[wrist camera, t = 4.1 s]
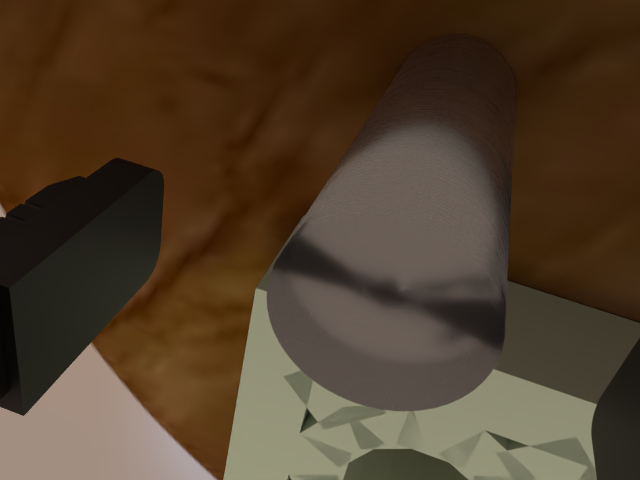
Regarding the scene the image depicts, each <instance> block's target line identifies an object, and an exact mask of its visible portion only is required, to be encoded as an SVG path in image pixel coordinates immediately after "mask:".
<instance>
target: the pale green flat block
mask: <svg viewBox="0 0 640 480" xmlns="http://www.w3.org/2000/svg"><path fill="white" fill-rule="evenodd" d="M304 217H305V215H303V217H302V218H301V220H300V221H299V223H298V224H297V226H296V227H295V229H294V230H293V232H292V233H291V235H290V237H289V238H288V240H287V241H286V243H285V244H284V246H283V247H282V249H281V250H280V252H279V253H278V255H277V256H276V258H275V260H274V261H273V263H272V264H271V266H270V267H269V269H268V270H267V272H266V273H265V275H264V276H263V278H262V279H261V281H260V283H259V284H258V286H257V287H256V291H255V297H254V302H253V308H252V314H251V320H250V326H249V332H248V338H247V344H246V350H245V356H244V362H243V368H242V374H241V380H240V386H239V391H238V397H237V403H236V409H235V415H234V421H233V427H232V433H231V439H230V445H229V451H228V457H227V463H226V469H225V474H224V480H597V476H596V469H595V461H594V453H593V446H592V438H591V427H592V419H593V415H594V411H595V408H596V406H597V403H598V401H599V399H600V397H601V395H602V394H603V392H604V391H605V389H606V388H607V386H608V385H609V383H610V382H611V380H612V379H613V377H614V376H615V374H616V373H617V371H618V370H619V368H620V367H621V365H622V364H623V362H624V360H625V359H626V357H627V356H628V354H629V353H630V351H631V350H632V348H633V347H634V345H635V344H636V342H637V341H638V339H639V338H640V323H638V322H635V321H632V320H629V319H626V318H623V317H620V316H616V315H613V314H610V313H607V312H604V311H601V310H598V309H595V308H591V307H588V306H585V305H582V304H579V303H576V302H573V301H570V300H567V299H563V298H560V297H557V296H554V295H551V294H548V293H545V292H542V291H539V290H535V289H532V288H529V287H526V286H523V285H520V284H517V283H514V282H510V281H507V299H506V321H505V339H504V344H503V349H502V352H501V355H500V357H499V360H498V362H497V364H496V366H495V367H494V369H493V370H492V372H491V374H490V375H489V376H488V377H487V378H486V379H485V381H484V382H483V383H482V384H481V385H479V386H478V387H477V388H476V389H475V390H474V391H472V392H471V393H469V394H467V395H466V396H464V397H463V398H461V399H459V400H456V401H454V402H452V403H450V404H447V405H444V406H440V407H437V408H432V409H427V410H420V411H390V410H381V409H376V408H372V407H367V406H364V405H361V404H357V403H354V402H352V401H349V400H347V399H344V398H342V397H340V396H338V395H336V394H334V393H332V392H330V391H328V390H327V389H325V388H323V387H322V386H320V385H319V384H317V383H316V382H315V381H313V380H312V379H311V378H309V377H308V376H307V375H306V374H305V373H304V372H302V371H301V370H300V369H299V368H298V367H297V366H296V365H295V364H294V362H293V361H292V360H291V359H290V358H289V356H288V355H287V354H286V352H285V351H284V349H283V348H282V346H281V345H280V343H279V341H278V339H277V337H276V335H275V333H274V331H273V328H272V325H271V323H270V319H269V315H268V310H267V286H268V281H269V277H270V273H271V271H272V268H273V266H274V264H275V262H276V260H277V259H278V257H279V255H280V254H281V252H282V251H283V249H284V248H285V246H286V245H287V243H288V242H289V240H290V238H291V237H292V235H293V234H294V232H295V231H296V229H297V228H298V226H299V224H300V223H301V221H302V220H303V218H304Z"/></svg>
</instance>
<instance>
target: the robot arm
mask: <svg viewBox="0 0 640 480" xmlns="http://www.w3.org/2000/svg"><path fill="white" fill-rule="evenodd" d="M163 194H164V179H163V175H162V173H161V172H160V171H158V170H155V169H152V168H148V167H145V166H142V165H139V164H136V163H133V162H130V161H127V160H123V159H120V158H115V159H113V160H111V161H110V162H108V163H107V164H105V165H104V166H102V167H101V168H100V169H98V170H97V171H95V172H94V173H93V174H91V175H90V176H88V177H87V178H84V177H81V176H78V177H74V178H71V179H68V180H65V181H61V182H58V183H55V184H52V185H48V186H47V187H45V188H44V189H42V190H41V191H39V192H38V193H36V194H35V195H33V196H32V197H30V198H29V199H27V200H26V202H25V204H24V205H23V204H20V205H18V206H17V207H15V208H14V209H12V210H11V211H9V212H8V213H6V217H5V218H4V217H0V407H2V408H5V409H7V410H10V411H12V412H15V413H18V414H20V415H23V416H24V415H25V414H26V413H27V412H28V411H29V410H30V409H31V408H32V406H33V405H34V404H35V403H36V402H37V401H38V400H39V399H40V398H41V397H42V395H43V394H44V393H45V392H46V391H47V390H48V389H49V388H50V387H51V386H52V384H53V383H54V382H55V381H56V380H57V379H58V378H59V377H60V375H61V374H62V373H63V372H64V371H65V370H66V369H67V368H68V367H69V366H70V365H71V364H72V362H73V361H74V360H75V359H76V358H77V357H78V356H79V355H80V354H81V353H82V351H83V350H84V349H85V348H86V347H87V346H88V345H89V344H90V343H91V342H92V341H93V339H94V338H95V337H96V336H97V335H98V334H99V333H100V332H101V331H102V330H103V328H104V327H105V326H106V325H107V324H108V323H109V322H110V321H111V320H112V319H113V317H114V316H115V315H116V314H117V313H118V312H119V311H120V310H121V309H122V308H123V306H124V305H125V304H126V303H127V302H128V301H129V300H130V299H131V298H132V297H133V295H134V294H135V293H136V292H137V291H138V290H139V289H140V288H141V287H142V286H143V284H144V283H145V282H146V281H147V280H148V278H149V277H150V275H151V274H152V272H153V270H154V268H155V265H156V263H157V260H158V256H159V252H160V244H161V227H162V210H163ZM591 438H592V446H593V453H594V461H595V469H596V476H597V480H640V338H639V339H638V341H637V342H636V344H635V345H634V347H633V348H632V350H631V351H630V353H629V354H628V356H627V357H626V359H625V360H624V362H623V364H622V365H621V367H620V368H619V370H618V371H617V373H616V374H615V376H614V377H613V379H612V380H611V382H610V383H609V385H608V386H607V388H606V389H605V391H604V392H603V394H602V395H601V397H600V399H599V401H598V403H597V406H596V408H595V411H594V415H593V419H592V427H591Z"/></svg>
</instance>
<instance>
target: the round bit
mask: <svg viewBox="0 0 640 480" xmlns="http://www.w3.org/2000/svg"><path fill="white" fill-rule="evenodd" d="M515 102H516V85H515V79H514V75H513V72H512V70H511V67H510V65H509V63H508V62H507V60H506V59H505V57H504V56H503V55H502V54H501V53H500V52H499V51H498V50H497V49H496V48H495V47H494V46H492V45H491V44H489V43H488V42H486V41H484V40H482V39H480V38H477V37H474V36H470V35H464V34H450V35H444V36H439V37H436V38H434V39H431V40H429V41H427V42H425V43H424V44H422V45H421V46H419V47H418V48H417V49H415V50H414V51H413V52H412V53H411V54H410V55H409V57H408V58H407V59H406V61H405V62H404V64H403V65H402V67H401V68H400V70H399V71H398V73H397V74H396V76H395V77H394V79H393V80H392V82H391V84H390V85H389V87H388V88H387V90H386V91H385V93H384V94H383V96H382V98H381V99H380V101H379V102H378V104H377V105H376V107H375V108H374V110H373V111H372V113H371V115H370V116H369V118H368V119H367V121H366V122H365V124H364V125H363V127H362V128H361V130H360V132H359V133H358V135H357V136H356V138H355V139H354V141H353V142H352V144H351V146H350V147H349V149H348V150H347V152H346V153H345V155H344V156H343V158H342V159H341V161H340V163H339V164H338V166H337V167H336V169H335V170H334V172H333V173H332V175H331V176H330V178H329V180H328V181H327V183H326V184H325V186H324V187H323V189H322V190H321V192H320V194H319V195H318V197H317V198H316V200H315V201H314V203H313V204H312V206H311V207H310V209H309V211H308V212H307V214H306V215H305V217H304V218H303V220H302V221H301V223H300V224H299V226H298V228H297V229H296V231H295V232H294V234H293V235H292V237H291V238H290V240H289V242H288V243H287V245H286V246H285V248H284V249H283V251H282V252H281V254H280V255H279V257H278V259H277V260H276V262H275V264H274V266H273V268H272V271H271V273H270V277H269V281H268V286H267V310H268V315H269V319H270V323H271V325H272V328H273V331H274V333H275V335H276V337H277V339H278V341H279V343H280V345H281V346H282V348H283V349H284V351H285V352H286V354H287V355H288V356H289V358H290V359H291V360H292V361H293V362H294V364H295V365H296V366H297V367H298V368H299V369H300V370H301V371H302V372H304V373H305V374H306V375H307V376H308V377H309V378H311V379H312V380H313V381H315V382H316V383H317V384H319V385H320V386H322V387H323V388H325V389H327V390H328V391H330V392H332V393H334V394H336V395H338V396H340V397H342V398H344V399H347V400H349V401H352V402H354V403H357V404H361V405H364V406H367V407H372V408H376V409H381V410H390V411H420V410H427V409H432V408H437V407H440V406H444V405H447V404H450V403H452V402H454V401H456V400H459V399H461V398H463V397H464V396H466V395H467V394H469V393H471V392H472V391H474V390H475V389H476V388H477V387H478V386H479V385H481V384H482V383H483V382H484V381H485V379H486V378H487V377H488V376H489V375H490V374H491V372H492V370H493V369H494V367H495V366H496V364H497V362H498V360H499V357H500V355H501V352H502V349H503V344H504V339H505V321H506V299H507V277H508V255H509V233H510V212H511V190H512V168H513V146H514V124H515Z"/></svg>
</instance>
